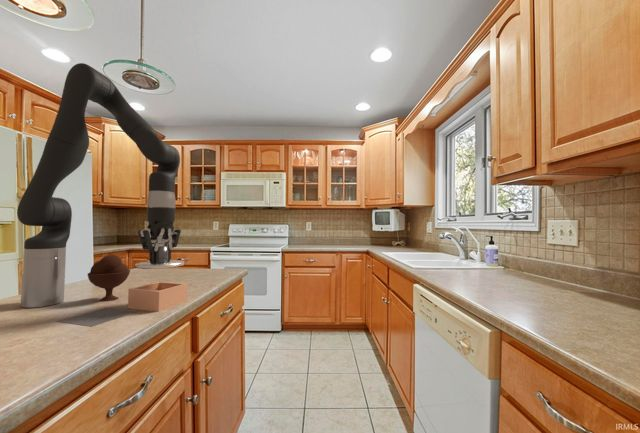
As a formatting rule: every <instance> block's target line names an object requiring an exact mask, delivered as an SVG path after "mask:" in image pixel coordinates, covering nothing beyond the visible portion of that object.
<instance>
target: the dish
mask: <svg viewBox="0 0 640 433" xmlns="http://www.w3.org/2000/svg"><path fill="white" fill-rule="evenodd" d="M127 290H128V291H127V292H128V296H127V309H131V310H132V309H133V310H141V311H151V312H162V311H164V310H166V309H170V308H172V307H175V306H177V305H180V304H183V303H186V302H188V296H189V283H182V282H181V283H180V282H171V281H169V282H168V281H158V282H152V283H149V284H145V285H141V286H136V287H132V288H128V289H127Z"/></svg>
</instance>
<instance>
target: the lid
mask: <svg viewBox="0 0 640 433" xmlns="http://www.w3.org/2000/svg"><path fill="white" fill-rule="evenodd" d="M157 251H158V264H151V263H150V261H149V260H148V261H143V262H142V261H141V262H137V263H134V268H135V269H142V270H150V269H151V270H152V269H153V270H154V269H155V270H156V269H168V268H169V269H170V268H177V267H181V266H182V267H183V266H184V265H185V261H184V260H181V259H180V260H179V259H177V260H176V259H171V260H170V262H168V246H163V245H159V247H158V250H157Z"/></svg>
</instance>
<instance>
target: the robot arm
mask: <svg viewBox="0 0 640 433" xmlns="http://www.w3.org/2000/svg"><path fill="white" fill-rule="evenodd" d="M89 101H91V102H93V103H96V104H98V105H100V106H101V107H102V108H104V109H106V110H107V111H108V112H109V113H110V114H111V115H112V116H113V117H114V118H115V121H116V123H117V125H118V126H119V128H120V130H122V131H123V133H125V135H127V137H128V138H130V140H132V142H134V143H135V144H136V147H137V148H138V150H139V151H140V153H141V154H142V155H143V156H144V157H145V158H146V159H147V160H148V161H150V162H151V163H153V164H156V165H157V169H156V171H153V172H151V173H150V174H149V176H148V194H147V199H146V202H147V203H146V204H147V205H146V206H147V207H146V222H148V225H147V227H146V228H145V229H139V230H138V236H139V239H140V243H141V247H142V249H143V250H144V251H145V250H146V251H148V252H149V254H148V255H149V257H148V261H150V263H151V264H158V251H157V250H158V247H159V246H160V244H161V245H162V246H168V262H170V260H172V250H173V249H174V248H177V246H178V243H179V240H180V235H181V232H182V231H181V229H177V228H174V223H175V221H176V201H177V200H176V195H175V192H176V183H175V182H176V178H177V174H178V171H179V168H180V161H181V158H180V157H181V156H180V152H179V150H178V149H177V148H176V147H175V146H174V145H172V144H169V143H167V142H165V141H163V140H162V139H161V138H160V137H159V136H158V133H157V131H156V130H155V128H153V126H152V125H151V124H149V122H147V121H146V119H145V118H143V116H141V115H140V114H139V113H138V112H137V111H136V110H135V108H133V107H132V106H131V105H130V103H129V102H128V101H127V100H126V98H125V97H124V96H123V94H122V93H121V91H120V90H119V89H118V87H117V86H116V85H115V83H114V81H113V80H111V79H110V78H109V77H107V76H106V75H105V74H103V73H102V72H100V71H98V70H97V69H96V68H94V67H92V66H90V65H89V64H86V63H83V62H81V63H80V62H79V63H77V64H75V65H73V66H72V67H71V68H70V69H69V71H68V73H67V75H66V78H65V81H64V85H63V90H62V93H61V99H60V103H59V107H58V110H57V112H56V116H55V119H54V122H53V124H52V128H51V130H50V132H49V135H48V137H47V140H46V142H45V145H44V147H43V151H42V153H41V154H42V155H41V157H40V159H39V161H38V164H37V167H36V169H35V172H34V174H33V176H32V178H31V179H30V181H29V184H28V185H27V187H26V189H25V191H24V192H23V194H22V197H21V199H20V200H19V203H18V207H17V209H16V210H17V212H16V216H17V219H18V221H19V222H20V223H21V224H22V225H25V226H29V227H41V230H40V232H39V233H37V234H35V235H34V236H32V237H31V236H30V237H29V238H27V239H25V240H24V243H23V268H22V274H21V292H20V305H21V307H22V308H27V309H28V308H29V309H30V308H41V307H47V306H53V305H57V304H60V303H63V302H64V301H65V289H66V288H65V284H66V283H65V281H66V280H65V278H66V259H67V258H66V254H67V242H68V240H69V239H70V235H71V234H70V233H71V228H72V227H71V226H72V225H71V224H72V218H73V216H72V214H73V213H72V212H73V211H72V207H71V203H69V201H67V200H66V199H64V198H62V197H53V195H54V194H55V191H56V189H57V187H58V185H59V184H60V183H61V182H62V181H63V180H65V178H67V177H68V176H70V175H71V174H72V173H74V172H75V171H76V170H77V169H78V168H80V167H81V165H82V164H83V162H84V160H85V159H86V158H85V157H86V155H87V152H88V149H89V146H90V137H89V132H88V127H87V123H86V117H85V116H86V110H87V107H88V106H87V105H88V102H89Z"/></svg>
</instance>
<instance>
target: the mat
mask: <svg viewBox="0 0 640 433" xmlns="http://www.w3.org/2000/svg"><path fill="white" fill-rule="evenodd" d="M137 312H139V311H138V310H132V309H131V310H130V309H124V308H123V309H122V308H115V307H114V308H112V307H103V308H100V309H95V310H91V311H89V312H84V313H81V314H78V315H77V314H76V315H75V316H70V317H67V318H63V319H60V320H57V321H55V322H56V323H62V324H69V325H76V326H84V327H92V328H93V327H95V326H98V325H102V324H104V323H107V322H111V321H113V320H114V321H115V320H116V319H119V318H122V317H125V316H129V315H132V314H135V313H137Z"/></svg>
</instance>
